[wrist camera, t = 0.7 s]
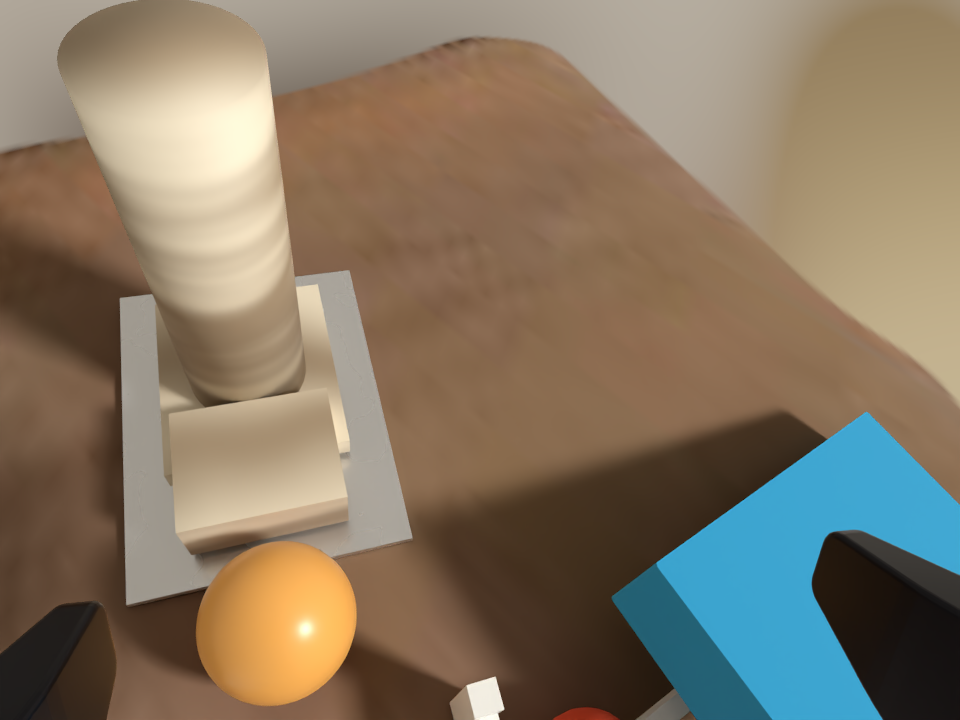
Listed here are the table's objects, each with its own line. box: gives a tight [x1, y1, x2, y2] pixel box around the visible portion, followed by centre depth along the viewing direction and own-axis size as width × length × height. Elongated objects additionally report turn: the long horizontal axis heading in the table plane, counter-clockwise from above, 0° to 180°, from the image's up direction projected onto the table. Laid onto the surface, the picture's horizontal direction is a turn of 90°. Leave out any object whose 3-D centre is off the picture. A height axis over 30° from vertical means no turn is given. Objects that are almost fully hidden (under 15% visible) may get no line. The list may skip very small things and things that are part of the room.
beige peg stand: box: [57, 0, 350, 555], centre depth 19 cm, size 10×6×13 cm, turn 16°
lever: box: [553, 412, 960, 720], centre depth 22 cm, size 7×7×18 cm
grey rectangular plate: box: [120, 270, 412, 607], centre depth 25 cm, size 12×9×1 cm
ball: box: [196, 541, 357, 706], centre depth 19 cm, size 4×4×4 cm
